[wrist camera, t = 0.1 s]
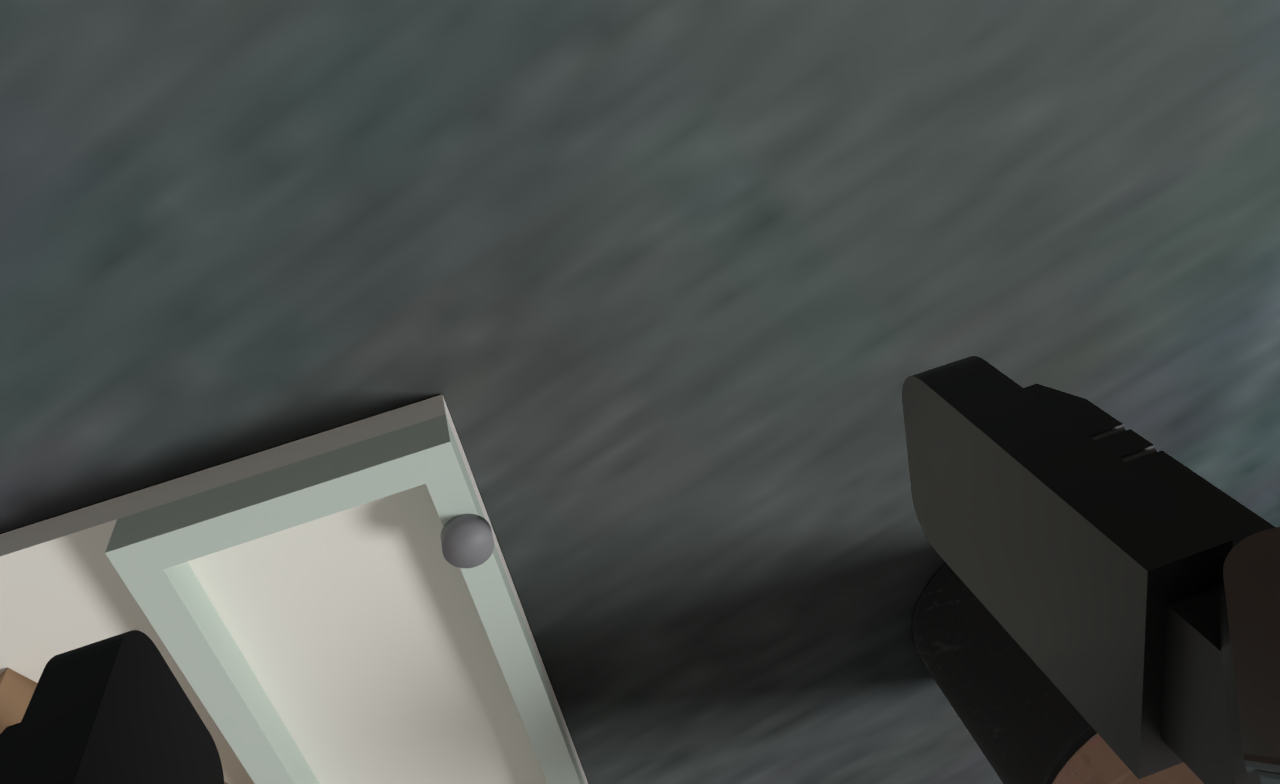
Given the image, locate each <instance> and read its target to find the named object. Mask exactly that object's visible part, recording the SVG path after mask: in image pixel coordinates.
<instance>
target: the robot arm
mask: <svg viewBox="0 0 1280 784" xmlns="http://www.w3.org/2000/svg"><path fill="white" fill-rule="evenodd" d="M902 403H903V412H904V422H905V432H906V442H907V451H908V461H909V471H910V481H911V490H912V498H913V503H914V507H915V511H916V514H917V517H918V520H919V522H920V525H921V527H922V529H923V531H924V533H925V535H926V537H927V539H928V541H929V542H930V544H931V545H932V547H933V548H934V550H935V551H936V552H937V553H938V554H939V556H940V557H941V558H942V559H943V560H944V561H945V562H946V563H947V565H948V566H949V567H950V568H951V569H952V570H953V571H954V572H955V574H956V575H957V576H958V577H959V578H960V579H961V580H962V581H963V583H964V584H965V585H966V586H967V587H968V588H969V589H970V590H971V592H972V593H973V594H974V595H975V596H976V597H977V598H978V599H979V601H980V602H981V603H982V604H983V605H984V606H985V607H986V608H987V610H988V611H989V612H990V613H991V614H992V615H993V616H994V617H995V619H996V620H997V621H998V622H999V623H1000V624H1001V625H1002V626H1003V628H1004V629H1005V630H1006V631H1007V632H1008V633H1009V634H1010V635H1011V637H1012V638H1013V639H1014V640H1015V641H1016V642H1017V643H1018V644H1019V646H1020V647H1021V648H1022V649H1023V650H1024V651H1025V652H1026V653H1027V654H1028V656H1029V657H1030V658H1031V659H1032V660H1033V661H1034V662H1035V663H1036V665H1037V666H1038V667H1039V668H1040V669H1041V670H1042V671H1043V672H1044V674H1045V675H1046V676H1047V677H1048V678H1049V679H1050V680H1051V681H1052V683H1053V684H1054V685H1055V686H1056V687H1057V688H1058V689H1059V690H1060V692H1061V693H1062V694H1063V695H1064V696H1065V697H1066V698H1067V699H1068V701H1069V702H1070V703H1071V704H1072V705H1073V706H1074V707H1075V708H1076V710H1077V711H1078V712H1079V713H1080V714H1081V715H1082V716H1083V717H1084V719H1085V720H1086V721H1087V722H1088V723H1089V724H1090V725H1091V726H1092V728H1093V729H1094V730H1095V731H1096V732H1097V733H1098V734H1099V735H1100V737H1101V738H1102V739H1103V740H1104V741H1105V742H1106V743H1107V744H1108V746H1109V747H1110V748H1111V749H1112V750H1113V751H1114V752H1115V753H1116V755H1117V756H1118V757H1119V758H1120V759H1121V760H1122V761H1123V762H1124V764H1125V765H1126V766H1127V767H1128V768H1129V769H1130V770H1131V771H1132V773H1133V774H1134V775H1135V776H1136V777H1137V778H1138V779H1142V778H1144V777H1147V776H1149V775H1152V774H1154V773H1157V772H1160V771H1162V770H1165V769H1167V768H1170V767H1172V766H1175V765H1177V764H1180V763H1182V762H1184V763H1185V764H1186V765H1187V766H1188V767H1189V768H1190V769H1191V770H1192V771H1193V773H1194V774H1195V775H1196V776H1197V777H1198V778H1199V779H1200V780H1201V781H1202V782H1203V783H1204V784H1280V527H1277V528H1276V527H1274V526H1273V525H1271V524H1270V523H1268V522H1267V521H1265V520H1264V519H1262V518H1261V517H1259V516H1258V515H1257V514H1255V513H1254V512H1252V511H1251V510H1249V509H1248V508H1246V507H1245V506H1243V505H1242V504H1240V503H1239V502H1237V501H1236V500H1234V499H1233V498H1231V497H1230V496H1228V495H1227V494H1225V493H1224V492H1223V491H1221V490H1220V489H1218V488H1217V487H1215V486H1214V485H1212V484H1211V483H1209V482H1208V481H1206V480H1205V479H1203V478H1202V477H1200V476H1199V475H1197V474H1196V473H1194V472H1193V471H1191V470H1190V469H1189V468H1187V467H1186V466H1184V465H1183V464H1181V463H1180V462H1178V461H1177V460H1175V459H1174V458H1172V457H1171V456H1169V455H1168V454H1166V453H1165V452H1163V451H1159V452H1157V451H1156V450H1155V448H1154V445H1153V444H1152V443H1150V442H1149V441H1147V440H1146V439H1144V438H1143V437H1141V436H1140V435H1138V434H1137V433H1135V432H1134V431H1132V430H1131V429H1130V430H1127V431H1126V430H1125V429H1124V427H1123V424H1122V423H1121V422H1119V421H1118V420H1116V419H1115V418H1113V417H1112V416H1110V415H1109V414H1107V413H1106V412H1104V411H1103V410H1101V409H1100V408H1098V407H1097V406H1095V405H1094V404H1092V403H1091V402H1090V401H1088V400H1087V399H1084V398H1081V397H1077V396H1074V395H1071V394H1068V393H1065V392H1061V391H1058V390H1055V389H1052V388H1049V387H1045V386H1042V385H1039V384H1035V385H1032V386H1029V387H1026V388H1022V387H1021V386H1019V385H1018V384H1017V383H1015V382H1014V381H1013V380H1011V379H1010V378H1008V377H1007V376H1006V375H1004V374H1003V373H1001V372H1000V371H999V370H997V369H996V368H995V367H993V366H992V365H990V364H989V363H988V362H986V361H985V360H983V359H982V358H980V357H977V356H971V357H968V358H965V359H962V360H958V361H955V362H952V363H949V364H946V365H943V366H940V367H937V368H934V369H931V370H928V371H925V372H922V373H919V374H916V375H913V376H910V377H908V378H907V379H906V380H905V382H904V384H903V389H902ZM0 784H224V775H223V769H222V764H221V760H220V756H219V753H218V750H217V747H216V745H215V742H214V740H213V738H212V736H211V734H210V732H209V731H208V729H207V728H206V726H205V724H204V723H203V721H202V720H201V718H200V716H199V715H198V713H197V711H196V710H195V708H194V707H193V705H192V703H191V702H190V700H189V699H188V697H187V695H186V694H185V692H184V691H183V689H182V687H181V686H180V684H179V682H178V681H177V679H176V678H175V676H174V674H173V673H172V671H171V670H170V668H169V666H168V665H167V663H166V661H165V660H164V658H163V657H162V655H161V653H160V652H159V650H158V649H157V647H156V646H155V644H154V643H153V641H152V640H151V639H150V638H149V637H148V636H147V635H146V634H145V633H143V632H141V631H139V630H132V631H128V632H125V633H122V634H119V635H116V636H113V637H110V638H107V639H104V640H101V641H98V642H95V643H92V644H89V645H86V646H83V647H80V648H77V649H74V650H71V651H68V652H65V653H61V654H58V655H56V656H54V657H52V658H51V659H50V660H49V661H48V662H47V664H46V666H45V668H44V670H43V672H42V674H41V677H40V679H39V681H38V684H37V686H36V688H35V691H34V693H33V695H32V698H31V700H30V702H29V705H28V707H27V709H26V712H25V714H24V716H23V719H22V721H21V722H20V723H17V724H14V725H11V726H8V727H6V728H5V729H4V731H3V732H2V733H1V734H0Z"/></svg>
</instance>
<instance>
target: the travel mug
mask: <svg viewBox="0 0 1280 784" xmlns="http://www.w3.org/2000/svg"><path fill="white" fill-rule="evenodd" d="M912 633H913V640H914V643H915V646H916V650H917V651H918V653H919V655H920V657H921V659H922V660H923V662H924V664H925V666H926V667H927V669H928V670H929V672H930V673H931V675H932V676H933V678H934V679H935V681H936V683H937V684H938V686H939V687H940V689H941V690H942V692H943V693H944V695H945V696H946V698H947V699H948V701H949V702H950V704H951V705H952V707H953V708H954V710H955V711H956V713H957V714H958V716H959V717H960V719H961V720H962V722H963V723H964V725H965V726H966V728H967V729H968V731H969V732H970V734H971V735H972V737H973V738H974V740H975V741H976V743H977V744H978V746H979V747H980V749H981V750H982V752H983V753H984V755H985V756H986V758H987V759H988V761H989V763H990V764H991V766H992V767H993V769H994V770H995V772H996V773H997V775H998V776H999V778H1000V779H1001V781H1002V782H1003V784H1204V783H1203V782H1202V781H1201V780H1200V779H1199V778H1198V777H1197V776H1196V775H1195V774H1194V773H1193V771H1192V770H1191V769H1190V768H1189V767H1188V766H1187V765H1186V764H1185V763H1184V762H1182V763H1180V764H1177V765H1175V766H1172V767H1170V768H1167V769H1165V770H1162V771H1160V772H1157V773H1154V774H1152V775H1149V776H1147V777H1144V778H1142V779H1138V778H1137V777H1136V776H1135V775H1134V774H1133V773H1132V771H1131V770H1130V769H1129V768H1128V767H1127V766H1126V765H1125V764H1124V762H1123V761H1122V760H1121V759H1120V758H1119V757H1118V756H1117V755H1116V753H1115V752H1114V751H1113V750H1112V749H1111V748H1110V747H1109V746H1108V744H1107V743H1106V742H1105V741H1104V740H1103V739H1102V738H1101V737H1100V735H1099V734H1098V733H1097V732H1096V731H1095V730H1094V729H1093V728H1092V726H1091V725H1090V724H1089V723H1088V722H1087V721H1086V720H1085V719H1084V717H1083V716H1082V715H1081V714H1080V713H1079V712H1078V711H1077V710H1076V708H1075V707H1074V706H1073V705H1072V704H1071V703H1070V702H1069V701H1068V699H1067V698H1066V697H1065V696H1064V695H1063V694H1062V693H1061V692H1060V690H1059V689H1058V688H1057V687H1056V686H1055V685H1054V684H1053V683H1052V681H1051V680H1050V679H1049V678H1048V677H1047V676H1046V675H1045V674H1044V672H1043V671H1042V670H1041V669H1040V668H1039V667H1038V666H1037V665H1036V663H1035V662H1034V661H1033V660H1032V659H1031V658H1030V657H1029V656H1028V654H1027V653H1026V652H1025V651H1024V650H1023V649H1022V648H1021V647H1020V646H1019V644H1018V643H1017V642H1016V641H1015V640H1014V639H1013V638H1012V637H1011V635H1010V634H1009V633H1008V632H1007V631H1006V630H1005V629H1004V628H1003V626H1002V625H1001V624H1000V623H999V622H998V621H997V620H996V619H995V617H994V616H993V615H992V614H991V613H990V612H989V611H988V610H987V608H986V607H985V606H984V605H983V604H982V603H981V602H980V601H979V599H978V598H977V597H976V596H975V595H974V594H973V593H972V592H971V590H970V589H969V588H968V587H967V586H966V585H965V584H964V583H963V581H962V580H961V579H960V578H959V577H958V576H957V575H956V574H955V572H954V571H953V570H952V569H951V568H950V567H949V566H948V565H947V563H946V564H945V565H944V566H943V567H942V568H941V569H940V570H939V571H938V572H937V573H936V575H935V576H934V577H933V578H932V580H931V581H930V582H929V583H928V585H927V587H926V588H925V590H924V591H923V593H922V595H921V597H920V599H919V601H918V604H917V606H916V609H915V612H914V617H913V624H912Z"/></svg>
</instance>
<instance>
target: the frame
mask: <svg viewBox="0 0 1280 784" xmlns="http://www.w3.org/2000/svg"><path fill="white" fill-rule="evenodd" d="M37 684H38V683H36V682H34V681H33V680H31V679H29V678H27V677H25V676H23V675H21V674H19V673H17V672H16V671H14V670H12V669H10V668H7V669H6V670H4V671H3V672H2V673H1V674H0V734H1V733H2V732H3V731H4V729H5V728H6V727H8V726H11V725H14V724H17V723H20V722H21V721H22V719H23V716H24V714H25V712H26V709H27V707H28V705H29V702H30V700H31V698H32V695H33V693H34V691H35V688H36V686H37ZM224 784H228V783H226V782H224Z"/></svg>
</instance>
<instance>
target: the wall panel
mask: <svg viewBox="0 0 1280 784" xmlns="http://www.w3.org/2000/svg"><path fill="white" fill-rule="evenodd" d="M132 630H139V631H141V632H143V633H145V634H146V635H147V636H148V637H149V638H150V639H151V640H152V641H153V643H154V644H155V646H156V647H157V649H158V650H159V652H160V653H161V655H162V657H163V658H164V660H165V661H166V663H167V665H168V666H169V668H170V670H171V671H172V673H173V674H174V676H175V678H176V679H177V681H178V682H179V684H180V686H181V687H182V689H183V691H184V692H185V694H186V695H187V697H188V699H189V700H190V702H191V703H192V705H193V707H194V708H195V710H196V711H197V713H198V715H199V716H200V718H201V720H202V721H203V723H204V724H205V726H206V728H207V729H208V731H209V732H210V734H211V736H212V738H213V740H214V742H215V745H216V747H217V750H218V753H219V756H220V760H221V764H222V769H223V775H224V782H226V783H228V784H588V782H587V779H586V776H585V774H584V771H583V768H582V766H581V763H580V760H579V758H578V755H577V752H576V750H575V747H574V744H573V742H572V739H571V736H570V734H569V731H568V728H567V726H566V723H565V720H564V718H563V715H562V712H561V710H560V707H559V704H558V702H557V699H556V696H555V694H554V691H553V688H552V686H551V683H550V680H549V678H548V675H547V672H546V670H545V667H544V664H543V662H542V659H541V656H540V654H539V651H538V648H537V646H536V643H535V640H534V638H533V635H532V632H531V630H530V627H529V624H528V622H527V619H526V616H525V614H524V611H523V608H522V606H521V603H520V600H519V598H518V595H517V592H516V590H515V587H514V584H513V582H512V579H511V576H510V574H509V571H508V568H507V566H506V563H505V560H504V558H503V555H502V552H501V549H500V547H499V544H498V541H497V539H496V536H495V533H494V531H493V528H492V525H491V523H490V520H489V517H488V515H487V512H486V509H485V507H484V504H483V501H482V499H481V496H480V493H479V491H478V488H477V485H476V483H475V480H474V477H473V475H472V472H471V469H470V467H469V464H468V461H467V459H466V456H465V453H464V451H463V448H462V445H461V443H460V440H459V437H458V435H457V432H456V429H455V427H454V424H453V421H452V419H451V416H450V413H449V411H448V408H447V405H446V403H445V400H444V397H443V395H439V396H436V397H432V398H429V399H426V400H423V401H420V402H417V403H413V404H410V405H407V406H404V407H401V408H398V409H394V410H391V411H388V412H385V413H382V414H379V415H376V416H372V417H369V418H366V419H363V420H360V421H357V422H353V423H350V424H347V425H344V426H341V427H338V428H334V429H331V430H328V431H325V432H322V433H319V434H315V435H312V436H309V437H306V438H303V439H300V440H297V441H293V442H290V443H287V444H284V445H281V446H278V447H274V448H271V449H268V450H265V451H262V452H259V453H255V454H252V455H249V456H246V457H243V458H240V459H237V460H233V461H230V462H227V463H224V464H221V465H218V466H214V467H211V468H208V469H205V470H202V471H199V472H195V473H192V474H189V475H186V476H183V477H180V478H176V479H173V480H170V481H167V482H164V483H161V484H158V485H154V486H151V487H148V488H145V489H142V490H139V491H135V492H132V493H129V494H126V495H123V496H120V497H116V498H113V499H110V500H107V501H104V502H101V503H98V504H94V505H91V506H88V507H85V508H82V509H79V510H75V511H72V512H69V513H66V514H63V515H60V516H56V517H53V518H50V519H47V520H44V521H41V522H37V523H34V524H31V525H28V526H25V527H22V528H19V529H15V530H12V531H9V532H6V533H3V534H0V674H1V673H2V672H3V671H4V670H6V669H7V668H10V669H12V670H14V671H16V672H17V673H19V674H21V675H23V676H25V677H27V678H29V679H31V680H33V681H34V682H36V683H38V681H39V679H40V677H41V674H42V672H43V670H44V668H45V666H46V664H47V662H48V661H49V660H50V659H51V658H52V657H54V656H56V655H58V654H61V653H65V652H68V651H71V650H74V649H77V648H80V647H83V646H86V645H89V644H92V643H95V642H98V641H101V640H104V639H107V638H110V637H113V636H116V635H119V634H122V633H125V632H128V631H132Z"/></svg>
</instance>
